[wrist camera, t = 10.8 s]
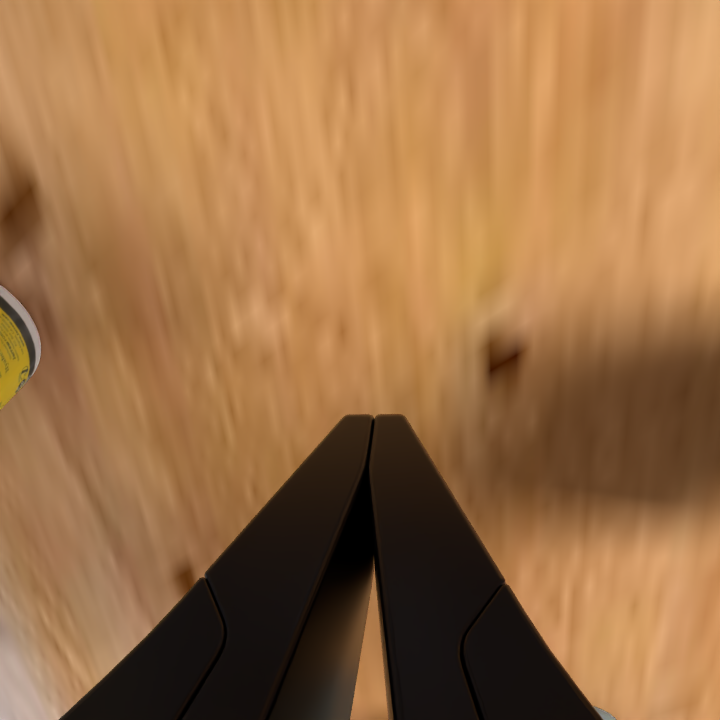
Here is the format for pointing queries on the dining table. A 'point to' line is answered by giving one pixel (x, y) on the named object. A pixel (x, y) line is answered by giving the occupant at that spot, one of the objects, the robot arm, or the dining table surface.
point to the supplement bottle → (16, 346)
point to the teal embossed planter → (604, 714)
